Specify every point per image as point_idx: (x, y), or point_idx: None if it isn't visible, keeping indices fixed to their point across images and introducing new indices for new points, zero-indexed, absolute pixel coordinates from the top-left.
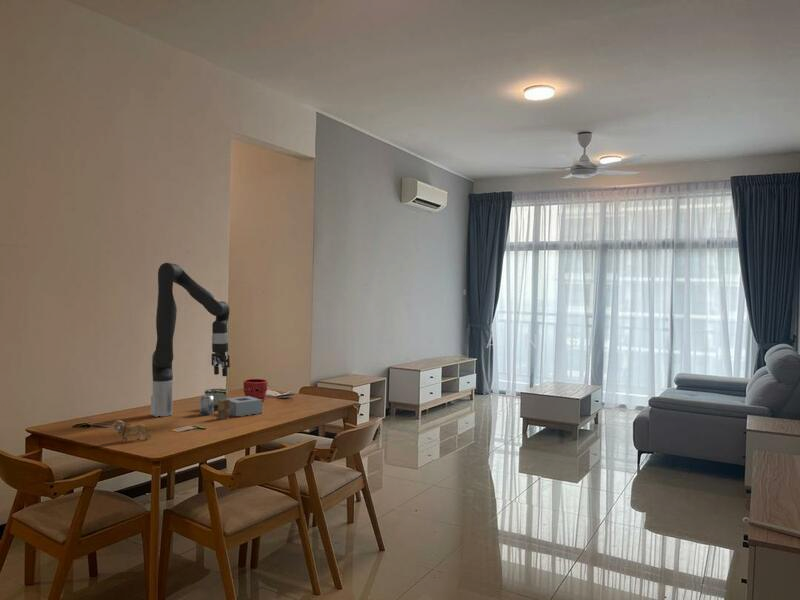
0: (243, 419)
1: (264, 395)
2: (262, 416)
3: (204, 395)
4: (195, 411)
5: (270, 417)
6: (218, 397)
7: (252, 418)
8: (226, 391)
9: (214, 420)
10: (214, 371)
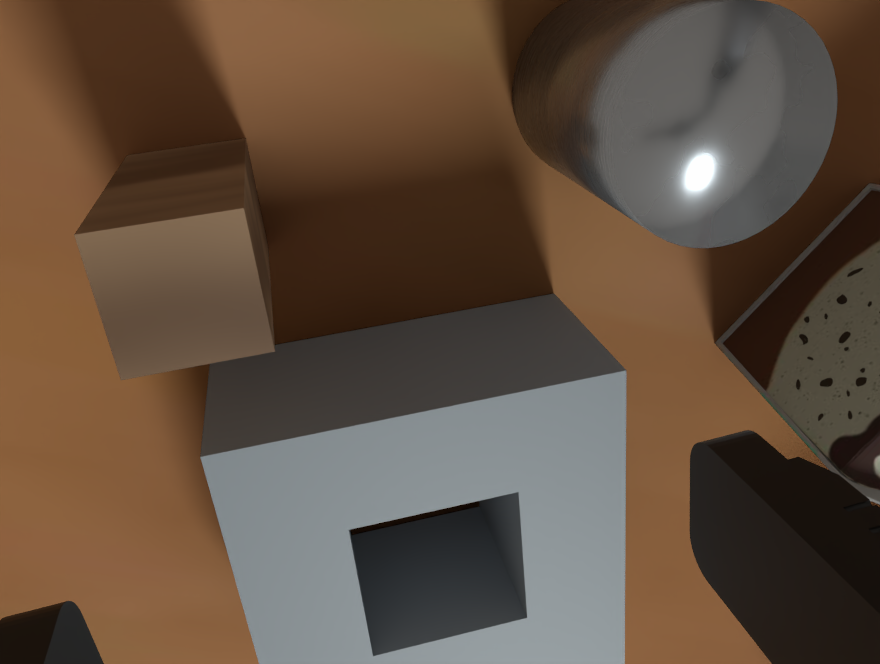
0: (23, 397)
1: None
2: (120, 601)
3: (823, 117)
4: (841, 9)
5: None
6: (865, 353)
7: (45, 495)
8: None
9: (112, 45)
10: (783, 495)
